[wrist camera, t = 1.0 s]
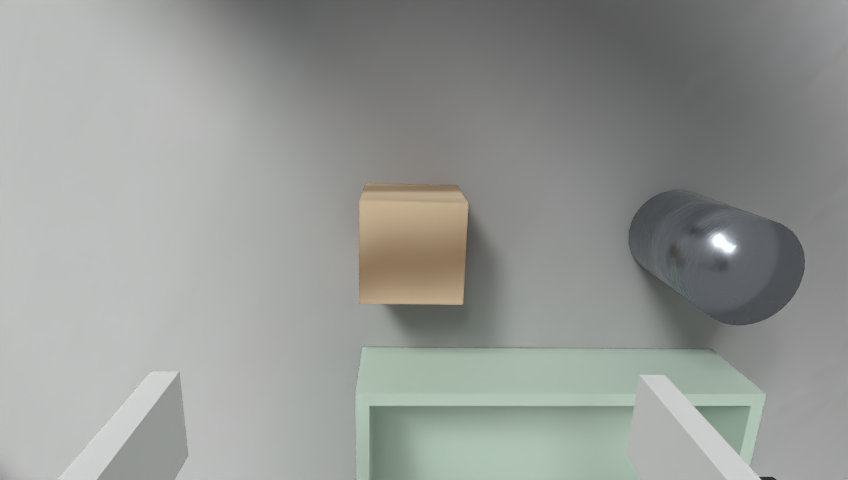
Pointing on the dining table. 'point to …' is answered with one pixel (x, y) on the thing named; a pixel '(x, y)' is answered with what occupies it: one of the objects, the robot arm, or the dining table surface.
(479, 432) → the tote
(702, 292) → the grey tin
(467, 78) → the dining table surface
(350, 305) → the dining table surface
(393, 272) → the oak cube
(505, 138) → the dining table surface
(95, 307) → the dining table surface
